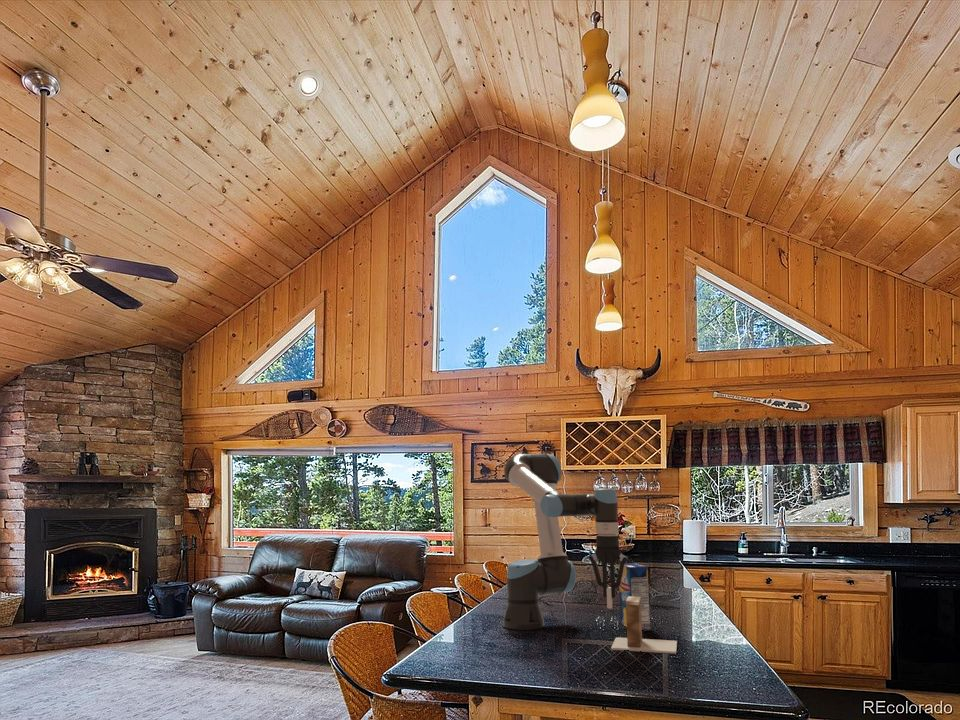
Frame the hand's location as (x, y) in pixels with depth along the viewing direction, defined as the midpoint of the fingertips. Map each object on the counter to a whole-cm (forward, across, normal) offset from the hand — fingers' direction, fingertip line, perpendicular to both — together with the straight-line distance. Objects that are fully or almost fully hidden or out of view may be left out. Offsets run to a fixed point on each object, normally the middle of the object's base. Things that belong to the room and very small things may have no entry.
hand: (609, 607), depth 232 cm
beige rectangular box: (+11, +8, 0) cm, 13 cm away
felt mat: (+12, +11, 0) cm, 16 cm away
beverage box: (+12, +6, +28) cm, 31 cm away
